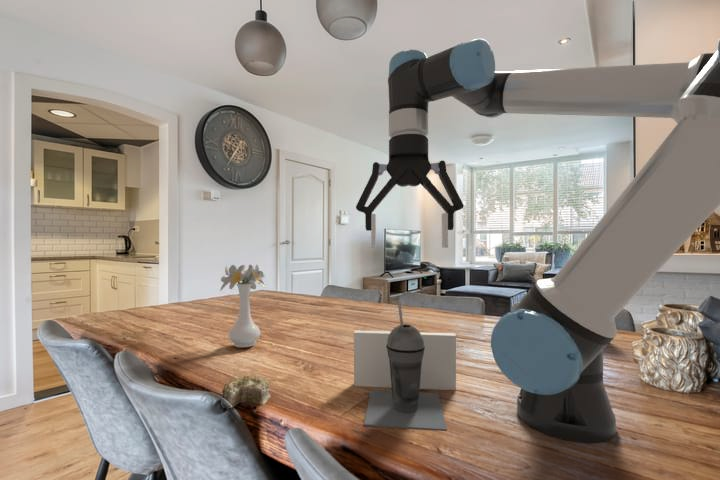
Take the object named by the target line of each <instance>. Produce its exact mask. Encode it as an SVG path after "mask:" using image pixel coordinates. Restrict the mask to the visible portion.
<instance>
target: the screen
mask: <svg viewBox="0 0 720 480" xmlns="http://www.w3.org/2000/svg"><path fill="white" fill-rule="evenodd" d="M391 331H392V330H385V331H384V330H360V329H359V330H357V329H356V330H354V332H353V386H354V387H365V388H367V387H369V388H370V387H371V388H372V387H373V388H391V389H392V386H391V374H390V362H389V357H388V352H387V348H386V345H387V340H388V337H389V334H390V333H391ZM419 332H420V334H421V336H422V338H423V341H424V346H425V349H424V354H423V359H422V365H421V377H420V389H419V390H421V389H422V390H446V391H447V390H448V391H456V390H457V335H456V333H455V332H453V333H452V332H429V331H428V332H424V331H423V332H421V331H419Z"/></svg>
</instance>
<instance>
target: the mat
mask: <svg viewBox="0 0 720 480" xmlns="http://www.w3.org/2000/svg"><path fill="white" fill-rule="evenodd" d="M364 416H365V417H364V422H363V427H376V428H377V427H378V428H393V429H394V428H395V429H397V428H399V429H412V430H415V429H416V430H432V431H448V428H447V424H446V420H445V415H444V411H443V406H442V402H441V399H440V394H439V392H422V391H421V392H420V391H419V400H418V405H417V410H416V411H415V412H412V413H402V412H398V411H396V410H395V409H394V406H393V398H392V390H379V389H370V393H369V398H368V402H367V407H366V412H365V415H364Z"/></svg>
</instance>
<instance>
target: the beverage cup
mask: <svg viewBox="0 0 720 480" xmlns="http://www.w3.org/2000/svg"><path fill="white" fill-rule="evenodd" d="M401 304H402V303H401V301H397V307H398V308H397V309H398V313H399V322H400V323H399V324H400V325H397V326H395V327H394V328H393V329H392V330H390V331H391V333H390V334H389V337H388V340H387V345H386V348H387V352H388V357H389V362H390V374H391V386H392V388H391V391H392V398H393V406H394V409H395V410H396V411H398V412H402V413H412V412H415V411H416V410H417V405H418V400H419V392H420V390H421V389H420V377H421V365H422V359H423V354H424V349H425V346H424V341H423V338H422V336H421V334H420V332H421V331H419V329H417V328H416V327H415V326H413V325H411V324H404V318H403V312H402V305H401Z"/></svg>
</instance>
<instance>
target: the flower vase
mask: <svg viewBox="0 0 720 480" xmlns="http://www.w3.org/2000/svg"><path fill="white" fill-rule="evenodd" d="M245 267H246V265H245V264H241V265H240V266H238V267H237V266H236V265H235V264H232V265H230V266H229V268H228V267H227V265H225V268H224V269H225V270H224V272H225V274H224V275H222V276H221V277H220V281H221V283H222V285H221V287H220V290H219V291H220V292H221V291H222V290H223V289H224V288H225V287H226V286H229V287H228V288H229V290H232V289H233V288H234V287H235V286H237V288H238V293H239V294H238V295H239V300H238V301H239V304H238V305H239V307H238V316H237V319H236V322H235V324H234V325H233V326H232V327H231V329H230V330H229V332H228V338H229V340H230V341H231V342H232V343H233V345H234V346H235V348H249V347H253V346H254V345H255V344H256V341H258V339H259V338H260V336H261V330H260V328H259V326H258V325H257V324H256V323H255V322H254V320H253V318H252V316H251V307H250V306H251V303H250V296H251V295H250V294H251V290H256V289H257V285H258V284H259V285H260V286H262V287H263V288H265V287H266V286H265V284H264V281H263V280H265V279H266V276H265V274H264V272H263V271H262V270H260V268H259V265H258V264H255V266H254V267H253V265H252V264H249V265H248V268H247V270H246V269H245ZM256 284H257V285H256Z"/></svg>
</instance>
